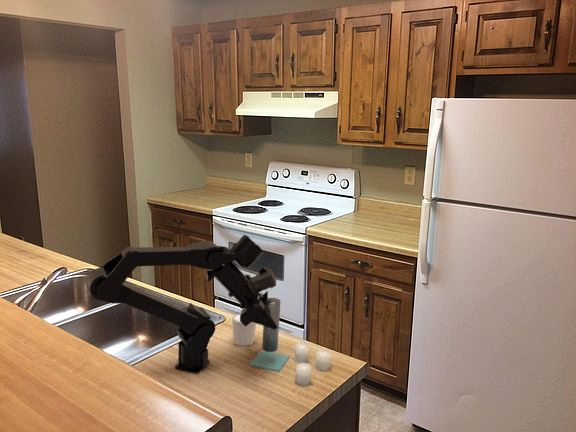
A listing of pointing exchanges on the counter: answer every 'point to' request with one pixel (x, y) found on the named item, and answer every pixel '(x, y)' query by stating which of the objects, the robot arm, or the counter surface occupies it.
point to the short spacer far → (323, 360)
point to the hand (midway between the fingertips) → (276, 324)
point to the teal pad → (269, 361)
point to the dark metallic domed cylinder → (270, 334)
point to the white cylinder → (243, 331)
